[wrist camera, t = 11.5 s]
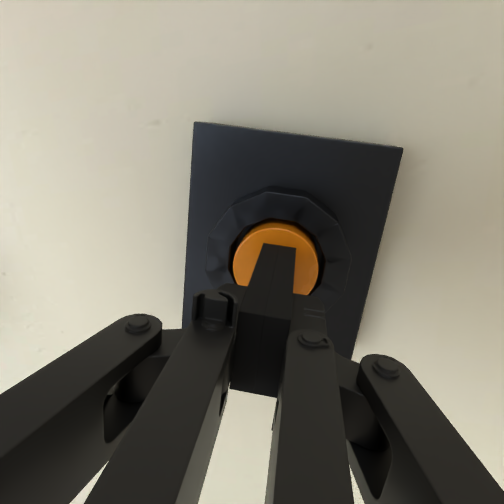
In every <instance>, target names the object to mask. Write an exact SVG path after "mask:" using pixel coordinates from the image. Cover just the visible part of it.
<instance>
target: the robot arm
mask: <svg viewBox="0 0 504 504" xmlns="http://www.w3.org/2000/svg"><path fill="white" fill-rule="evenodd" d="M295 258H296V248H293V247H287V246H280V245H274V244H268V243H263V245H262V248H261V251H260V254H259V256H258V259H257V262H256V265H255V267H254V270H253V273H252V276H251V278H250V281H249V284H248V286H242V285H236V284H230V283H225V284H223V285H221V286H219V287H218V288H217V289H208V290H202V291H199V292H197V293H196V294H194V295H193V303H192V317H191V322H190V324H189V325H188V327H187V328H183V329H167V330H162V322H161V321H160V320H159V319H158V318H156V317H154V316H152V315H147V314H133V315H128V316H125V317H123V318H121V319H119V320H117V321H115V322H114V323H112V324H111V325H109V326H108V327H106V328H104V329H103V330H101V331H100V332H98V333H97V334H95V335H93V336H92V337H90V338H89V339H87V340H86V341H84V342H82V343H81V344H79V345H78V346H76V347H74V348H73V349H71V350H70V351H68V352H67V353H65V354H63V355H62V356H60V357H59V358H57V359H56V360H54V361H52V362H51V363H49V364H48V365H46V366H45V367H43V368H41V369H40V370H38V371H37V372H35V373H33V374H32V375H30V376H29V377H27V378H26V379H24V380H22V381H21V382H19V383H18V384H16V385H15V386H13V387H11V388H10V389H8V390H7V391H5V392H4V393H2V394H0V504H69V503H70V502H71V501H72V500H73V499H74V498H75V497H76V496H77V495H78V494H79V492H80V491H81V490H82V489H83V488H84V487H85V486H86V485H87V484H88V483H89V482H90V480H91V479H92V478H93V477H94V476H95V475H96V474H97V473H98V472H99V471H100V469H101V468H102V467H103V466H104V465H105V464H106V463H107V462H108V461H109V462H108V463H107V465H106V467H105V468H104V470H103V472H102V474H101V475H100V477H99V479H98V480H97V482H96V484H95V485H94V487H93V489H92V491H91V492H90V494H89V496H88V497H87V499H86V501H85V503H84V504H198V501H199V497H200V494H201V490H202V486H203V483H204V479H205V476H206V472H207V469H208V465H209V462H210V458H211V455H212V451H213V448H214V444H215V441H216V437H217V434H218V430H219V426H220V423H221V419H222V416H223V412H224V409H225V405H226V402H227V395H228V387H229V383H230V388H229V389H233V390H238V391H244V392H249V393H254V394H259V395H264V396H269V397H275V398H277V401H276V407H275V413H274V419H273V424H272V431H273V433H272V442H271V451H270V460H269V469H268V478H267V487H266V496H265V504H354V498H353V491H352V483H351V475H350V467H351V470H352V472H353V475H354V477H355V480H356V483H357V485H358V488H359V490H360V493H361V495H362V498H363V500H364V503H365V504H504V491H503V490H502V489H501V487H500V486H499V485H498V483H497V482H496V481H495V479H494V478H493V477H492V476H491V474H490V473H489V472H488V470H487V469H486V468H485V467H484V465H483V464H482V463H481V461H480V460H479V459H478V458H477V456H476V455H475V454H474V452H473V451H472V450H471V449H470V447H469V446H468V445H467V443H466V442H465V441H464V440H463V438H462V437H461V436H460V434H459V433H458V432H457V431H456V429H455V428H454V427H453V425H452V424H451V423H450V422H449V420H448V419H447V418H446V416H445V415H444V414H443V412H442V411H441V410H440V409H439V407H438V406H437V405H436V403H435V402H434V401H433V400H432V398H431V397H430V396H429V394H428V393H427V392H426V391H425V389H424V388H423V387H422V385H421V384H420V383H419V382H418V380H417V379H416V378H415V376H414V375H413V374H412V373H411V371H410V370H409V369H408V368H407V367H406V366H405V365H404V364H402V363H401V362H399V361H397V360H396V359H394V358H392V357H389V356H386V355H379V354H370V355H366V356H365V357H363V358H362V360H361V362H360V364H359V363H357V362H354V361H352V360H349V359H347V358H345V357H342V356H341V355H339V354H338V353H336V352H335V351H334V345H333V343H332V341H331V340H330V339H329V338H328V336H327V327H326V319H325V309H324V304H323V303H322V301H321V300H320V299H319V298H318V297H314V296H308V295H302V294H296V293H293V286H294V272H295ZM349 465H350V467H349Z"/></svg>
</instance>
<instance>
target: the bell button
mask: <svg viewBox="0 0 504 504" xmlns="http://www.w3.org/2000/svg"><path fill="white" fill-rule="evenodd" d="M263 243H268V244H274V245H280V246H287V247H293V248H296V258H295V272H294V286H293V293H296V294H302V295H308V294H309V293H310V291H311V290H312V289H313V287H314V285H315V283H316V280H317V277H318V258H317V249H316V245H315V242H314V240H313V238H312V236H311V235H310V233H309V232H308V231H307V230H306V229H305V228H303V227H302V226H301V225H300V224H298V223H296V222H294V221H288V220H281V219H274V218H270V219H266V220H263V221H261V222H258V223H257V224H255V225H254V226H253V227H251V228H250V229H249V230H248V232H247V233H246V234H245V236H244V238H243V239H242V241H241V243H240V245H239V247H238V248H237V250H236V253H235V256H234V260H233V272H234V277H235V279H236V282H237V284H238V285H242V286H248V284H249V281H250V278H251V276H252V273H253V270H254V267H255V265H256V262H257V259H258V256H259V254H260V251H261V248H262V245H263Z"/></svg>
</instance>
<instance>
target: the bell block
mask: <svg viewBox="0 0 504 504" xmlns="http://www.w3.org/2000/svg"><path fill="white" fill-rule="evenodd" d="M402 154H403V148H402V147H397V146H392V145H384V144H376V143H368V142H360V141H352V140H344V139H336V138H328V137H320V136H312V135H304V134H296V133H288V132H280V131H272V130H264V129H256V128H248V127H240V126H232V125H224V124H216V123H208V122H194V127H193V144H192V161H191V178H190V196H189V213H188V230H187V247H186V264H185V281H184V298H183V315H182V329H183V328H187V327H188V325H189V324H190V322H191V317H192V303H193V295H194V294H196V293H197V292H199V291H202V290H208V289H217V288H218V287H219V286H221V285H223V284H225V283H230V284H236V285H238V284H237V282H236V279H235V277H234V272H233V260H234V256H235V253H236V250H237V248H238V247H239V245H240V243H241V241H242V239H243V238H244V236H245V234H246V233H247V232H248V230H249V229H250V228H251V227H253V226H254V225H255V224H257V223H258V222H261V221H263V220H266V219H270V218H274V219H281V220H288V221H294V222H296V223H298V224H300V225H301V226H302V227H303V228H305V229H306V230H307V231H308V232H309V233H310V235H311V236H312V238H313V240H314V242H315V245H316V249H317V258H318V277H317V280H316V283H315V285H314V287H313V289H312V290H311V291H310V293H309V294H308V296H314V297H318V298H319V299H320V300H321V301H322V303H323V304H324V309H325V319H326V327H327V336H328V338H329V339H330V340H331V341H332V343H333V345H334V351H335V352H336V353H338V354H339V355H341V356H342V357H345V358H347V359H349V360H351V358H352V354H353V350H354V346H355V342H356V338H357V334H358V330H359V326H360V322H361V318H362V314H363V310H364V306H365V302H366V298H367V294H368V290H369V286H370V282H371V278H372V274H373V270H374V266H375V262H376V258H377V254H378V250H379V246H380V242H381V238H382V234H383V230H384V226H385V222H386V218H387V214H388V210H389V206H390V202H391V198H392V194H393V190H394V186H395V182H396V178H397V174H398V170H399V166H400V162H401V158H402Z"/></svg>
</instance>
